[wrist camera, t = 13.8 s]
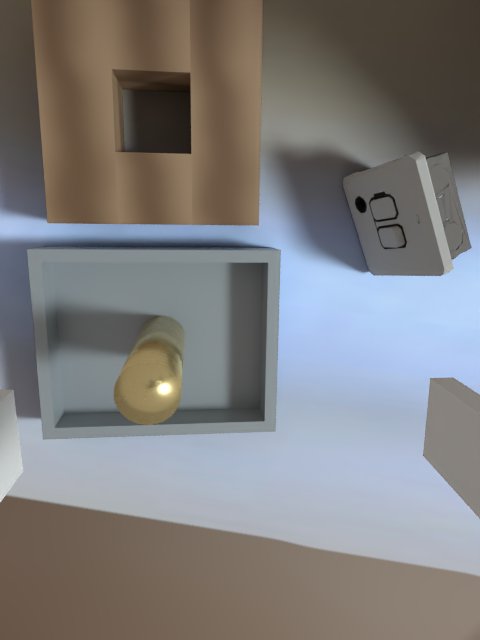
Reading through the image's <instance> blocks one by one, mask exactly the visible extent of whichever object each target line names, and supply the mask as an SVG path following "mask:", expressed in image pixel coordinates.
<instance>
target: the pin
mask: <svg viewBox="0 0 480 640" xmlns="http://www.w3.org/2000/svg"><path fill="white" fill-rule="evenodd" d="M184 345H185V333H184V330H183V328H182V326H181V324H180V323H179V322H178V321H176V320H175V319H173V318H171V317H168V316H156V317H153V318H151V319H150V320H148V321H147V322H146V323H145V324H144V326H143V327H142V329H141V331H140V333H139V335H138V337H137V340H136V342H135V344H134V346H133V348H132V350H131V352H130V354H129V356H128V358H127V360H126V362H125V364H124V366H123V368H122V370H121V373H120V375H119V377H118V379H117V381H116V383H115V386H114V401H115V404H116V406H117V408H118V410H119V411H120V413H121V414H122V415H123V416H124V417H125V418H127V419H128V420H130V421H132V422H134V423H137V424H141V425H154V424H158V423H161V422H163V421H165V420H167V419H168V418H169V417H171V416H172V415H173V414H174V412H175V411H176V410H177V408H178V406H179V403H180V400H181V390H182V375H183V360H184Z"/></svg>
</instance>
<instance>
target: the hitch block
mask: <svg viewBox="0 0 480 640" xmlns="http://www.w3.org/2000/svg"><path fill="white" fill-rule="evenodd" d="M31 9H32V22H33V36H34V49H35V62H36V76H37V89H38V102H39V116H40V129H41V142H42V156H43V169H44V182H45V196H46V209H47V222H48V223H83V224H179V225H259V179H260V126H261V72H262V18H263V0H31ZM122 89H130V90H156V91H181V92H191V154H176V153H137V152H125V147H124V121H123V96H122Z"/></svg>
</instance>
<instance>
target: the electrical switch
mask: <svg viewBox="0 0 480 640" xmlns="http://www.w3.org/2000/svg"><path fill="white" fill-rule="evenodd" d="M440 154H442V155H440ZM440 154H437V155H434V156H430V157H427V158H425V156H424V155H423V154H421V153H420V152H418V151H417V152H413V153H411V154H408V155H405V156H404V157H403V158H400V159H397V160H394V161H391V162H388V163H385V164H382V165H380V166H377V167H374V168H371V169H368V170H365V171H362V172H359V171H358V172H356V173H353V174H350V175H348V176H346V177H344V180H343V188H344V191H345V194H346V197H347V201H348V204H349V207H350V211H351V214H352V217H353V220H354V224H355V227H356V230H357V233H358V237H359V240H360V243H361V246H362V250H363V253H364V256H365V259H366V263H367V266H368V269H369V271H370V272H371V273H372V274H373V275H402V276H441V275H444V274H446V273H448V272H450V271H451V270H452V269H453V264H452V259H454V258H456V257H457V256H458V255H459V254H461V253H463V252H465V251H467V250H469V249H470V248H471V245H470V241H469V236H468V232H467V228H466V224H465V220H464V216H463V212H462V208H461V204H460V200H459V196H458V192H457V188H456V184H455V180H454V176H453V172H452V168H451V164H450V160H449V156H448V152H447V153H445V152H444V154H443V153H440ZM438 155H439V156H438ZM445 168H446V169H447V170H446V169H445ZM443 194H444V195H443ZM441 195H443V196H442V197H441V198H438V197H439V196H441ZM449 218H450V219H449ZM446 219H448V220H446ZM451 222H452V223H451ZM462 230H463V233H462ZM460 244H461V245H460ZM459 245H460V246H459Z"/></svg>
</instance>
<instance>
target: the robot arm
mask: <svg viewBox="0 0 480 640" xmlns="http://www.w3.org/2000/svg"><path fill="white" fill-rule="evenodd" d="M423 456H424V457H425V458H426V459H427V460H428V462H429V463H430V464H431V465H432V466H433V467H434V468H435V469H436V470H437V472H438V473H439V474H440V475H441V476H442V477H443V478H444V479H445V480H446V482H447V483H448V484H449V485H450V486H451V487H452V488H453V489H454V490H455V492H456V493H457V494H458V495H459V496H460V497H461V498H462V499H463V500H464V502H465V503H466V504H467V505H468V506H469V507H470V508H471V509H472V510H473V511H474V513H475V514H476V515H477V516H478V517H479V518H480V395H479V394H477V393H476V392H474V391H473V390H471V389H470V388H468V387H467V386H465V385H464V384H462V383H461V382H459V381H458V380H456V379H455V378H430V388H429V399H428V409H427V420H426V431H425V441H424V452H423ZM22 472H23V465H22V457H21V449H20V440H19V432H18V424H17V415H16V407H15V398H14V390H0V502H1V501H2V499H3V498H4V497H5V495H6V494H7V492H8V491H9V490H10V488H11V487H12V486H13V484H14V483H15V481H16V480H17V479H18V477H19V476H20V475H21V473H22Z"/></svg>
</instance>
